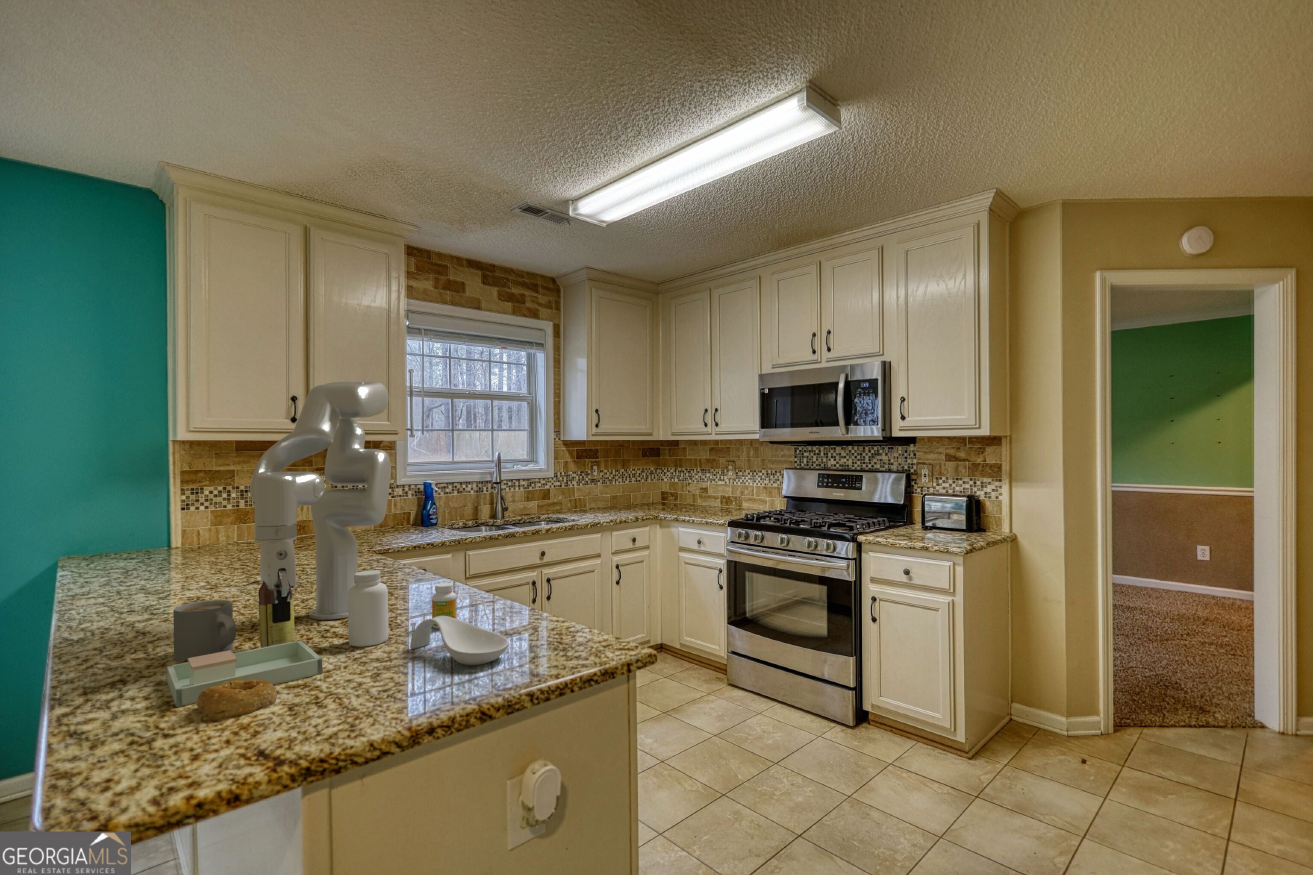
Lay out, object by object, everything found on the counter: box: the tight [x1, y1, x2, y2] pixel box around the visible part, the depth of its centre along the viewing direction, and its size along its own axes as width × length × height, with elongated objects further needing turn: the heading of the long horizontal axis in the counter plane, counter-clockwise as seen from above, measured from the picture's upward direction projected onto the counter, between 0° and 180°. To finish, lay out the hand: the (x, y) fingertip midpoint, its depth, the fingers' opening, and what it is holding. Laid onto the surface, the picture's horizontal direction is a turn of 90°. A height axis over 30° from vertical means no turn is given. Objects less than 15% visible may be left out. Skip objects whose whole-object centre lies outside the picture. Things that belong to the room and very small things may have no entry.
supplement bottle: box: [431, 582, 457, 630], centre depth 150 cm, size 5×5×10 cm
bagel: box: [196, 680, 278, 719], centre depth 103 cm, size 10×11×5 cm
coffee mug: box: [173, 599, 237, 662], centre depth 131 cm, size 13×10×10 cm
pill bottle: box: [347, 569, 389, 648], centre depth 138 cm, size 8×8×15 cm
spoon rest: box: [409, 616, 510, 666], centre depth 128 cm, size 24×12×7 cm, turn 59°
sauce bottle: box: [258, 554, 296, 648], centre depth 133 cm, size 7×6×20 cm
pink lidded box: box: [187, 650, 237, 686], centre depth 113 cm, size 6×6×5 cm
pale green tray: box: [166, 639, 323, 708], centre depth 116 cm, size 22×16×3 cm
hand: (276, 617), depth 133 cm, fingers open, 7 cm apart
